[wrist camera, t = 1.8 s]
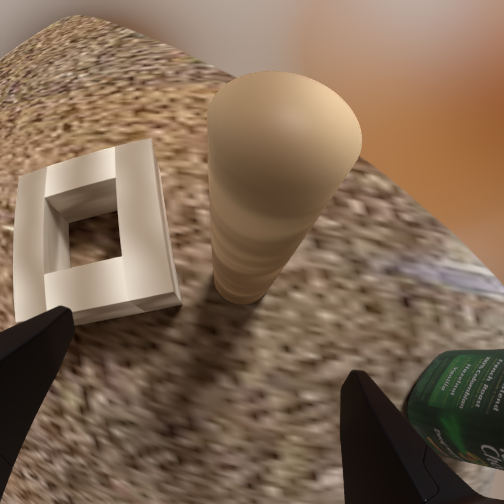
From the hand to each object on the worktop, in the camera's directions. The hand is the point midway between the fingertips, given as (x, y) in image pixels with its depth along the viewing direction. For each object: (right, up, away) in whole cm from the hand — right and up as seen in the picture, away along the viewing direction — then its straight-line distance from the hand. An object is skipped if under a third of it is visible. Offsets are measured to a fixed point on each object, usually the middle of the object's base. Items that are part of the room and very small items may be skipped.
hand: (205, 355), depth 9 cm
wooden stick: (+1, +1, +14) cm, 14 cm away
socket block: (-10, +3, +13) cm, 17 cm away
